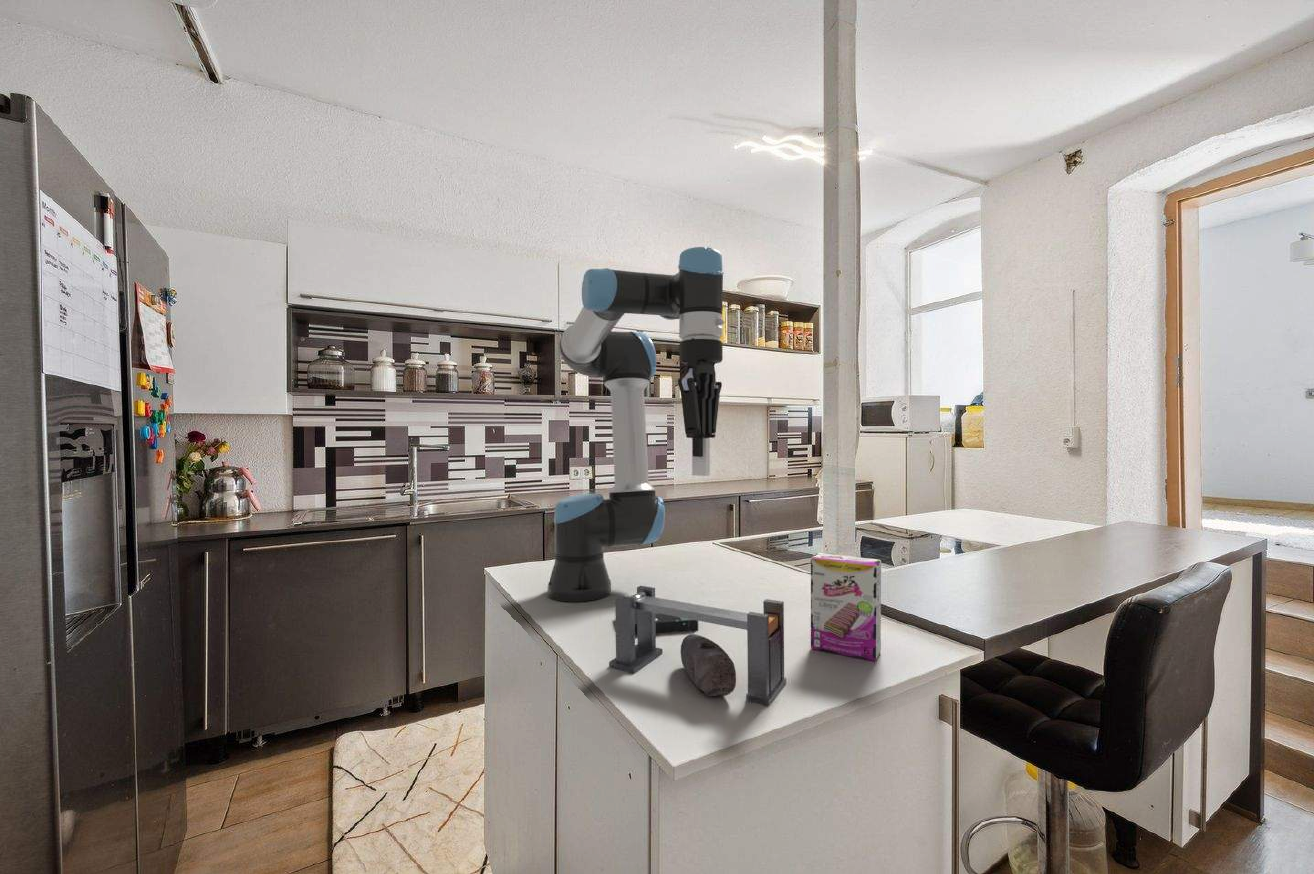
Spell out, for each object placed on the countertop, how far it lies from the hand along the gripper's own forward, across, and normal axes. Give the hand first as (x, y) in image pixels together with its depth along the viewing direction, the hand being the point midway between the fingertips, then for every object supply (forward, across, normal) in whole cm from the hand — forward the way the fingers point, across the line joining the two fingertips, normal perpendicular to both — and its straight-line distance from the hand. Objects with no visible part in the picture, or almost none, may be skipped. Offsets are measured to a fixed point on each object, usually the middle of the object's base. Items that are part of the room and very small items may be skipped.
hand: (700, 475), depth 96 cm
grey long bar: (+22, -9, -4) cm, 24 cm away
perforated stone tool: (+31, -11, -6) cm, 34 cm away
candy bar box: (+31, +12, -22) cm, 40 cm away
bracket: (+31, -9, +8) cm, 33 cm away
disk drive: (+32, +7, +13) cm, 36 cm away
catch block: (+31, -9, -16) cm, 36 cm away
